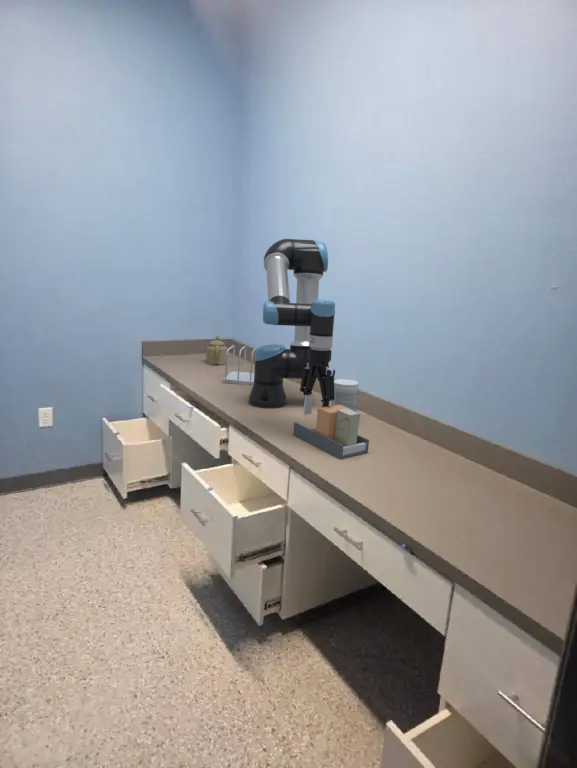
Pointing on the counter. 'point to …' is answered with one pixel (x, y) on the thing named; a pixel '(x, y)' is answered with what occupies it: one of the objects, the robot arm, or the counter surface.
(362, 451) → the tray
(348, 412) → the skincare box
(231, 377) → the file sorter
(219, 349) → the sugar bowl
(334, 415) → the block
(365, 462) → the counter surface
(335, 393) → the supplement tub
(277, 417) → the counter surface
